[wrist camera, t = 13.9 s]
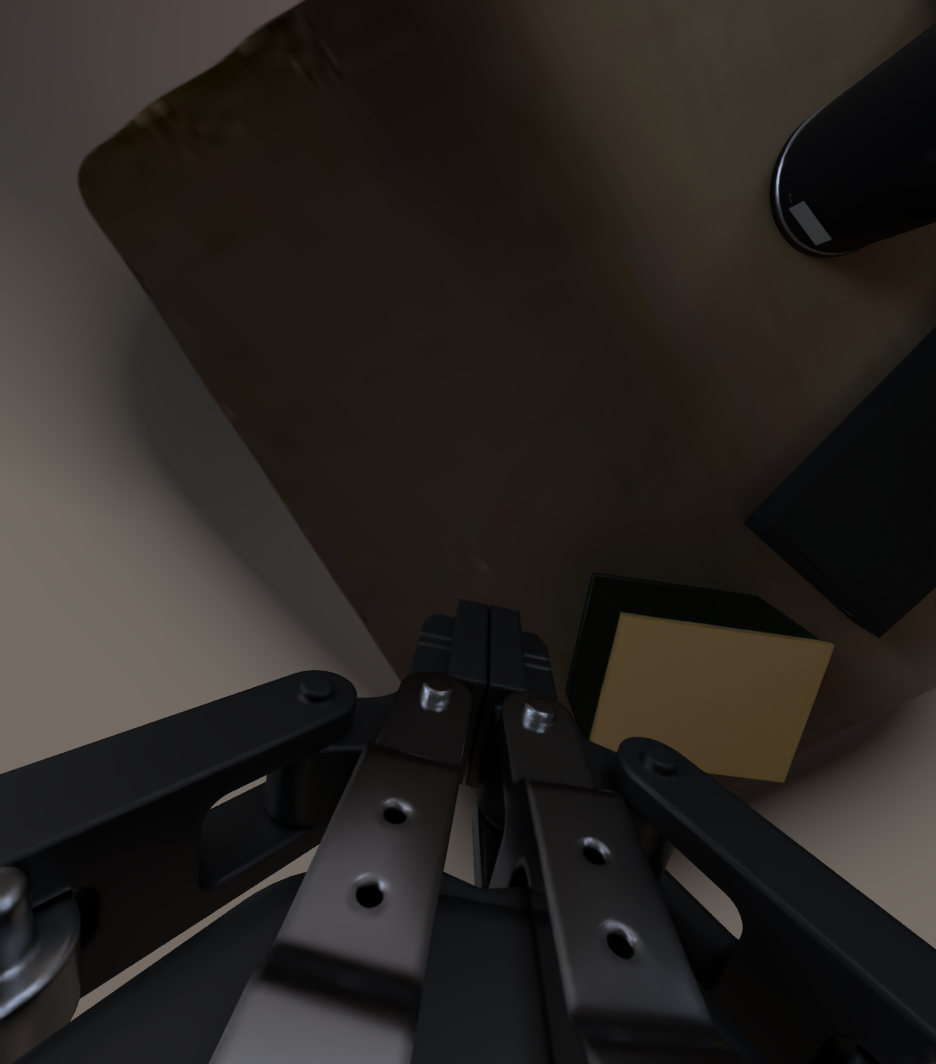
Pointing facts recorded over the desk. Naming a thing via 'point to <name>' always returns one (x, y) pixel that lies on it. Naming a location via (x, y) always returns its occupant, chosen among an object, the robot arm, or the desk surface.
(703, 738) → the tin lid
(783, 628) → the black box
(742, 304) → the desk surface
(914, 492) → the external hard drive
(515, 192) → the desk surface
